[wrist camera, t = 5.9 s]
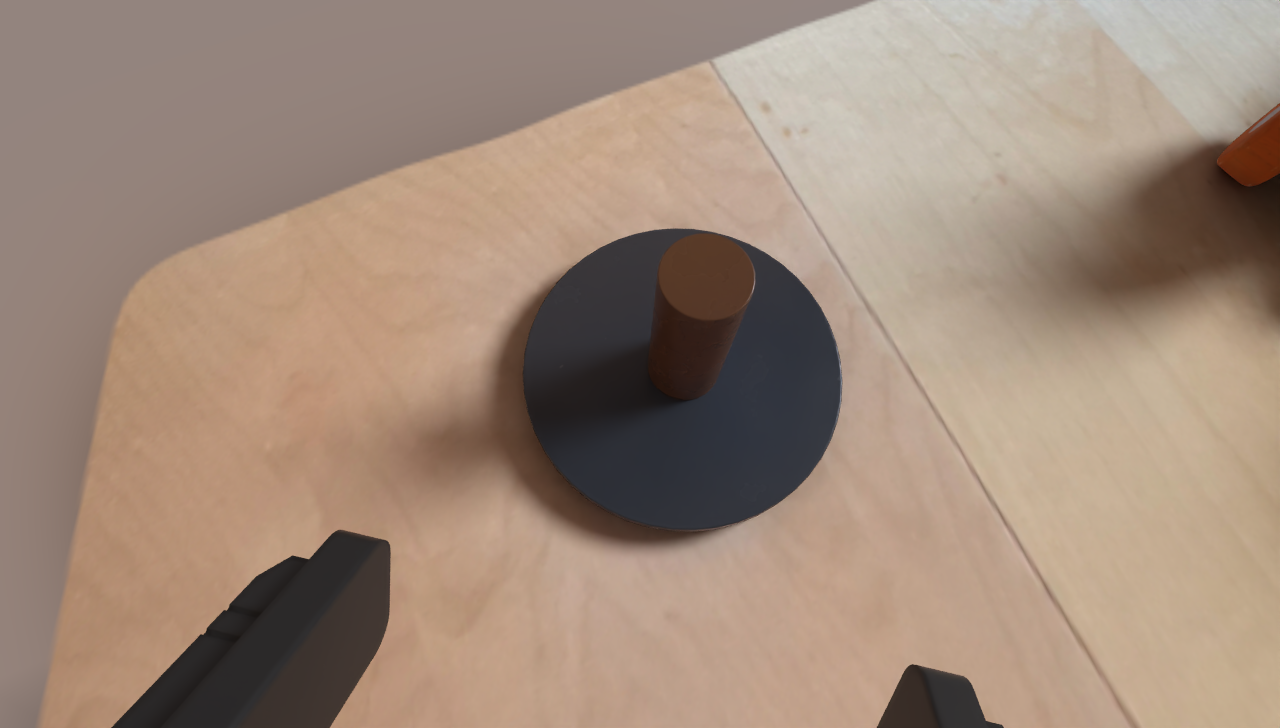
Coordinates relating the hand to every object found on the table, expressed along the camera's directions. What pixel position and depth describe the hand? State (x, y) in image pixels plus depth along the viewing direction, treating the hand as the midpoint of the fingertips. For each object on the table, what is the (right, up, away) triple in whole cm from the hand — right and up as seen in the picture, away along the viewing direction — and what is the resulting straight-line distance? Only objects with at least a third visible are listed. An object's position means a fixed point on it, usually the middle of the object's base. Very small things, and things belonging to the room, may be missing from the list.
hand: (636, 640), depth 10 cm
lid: (+2, +4, +14) cm, 15 cm away
